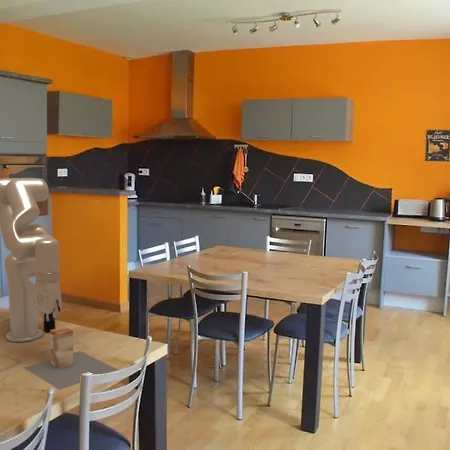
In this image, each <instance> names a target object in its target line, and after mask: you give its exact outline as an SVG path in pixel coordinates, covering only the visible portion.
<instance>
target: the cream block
mask: <svg viewBox="0 0 450 450" xmlns="http://www.w3.org/2000/svg"><path fill="white" fill-rule="evenodd" d="M49 334H50V337H49V338H50V360H51V364H52V365H54V366H56V367H57V368H59V369H60V368H63V367H66V366H69V365H72V364H74V358H73V353H74V331H73V330H72V329H71V328H69V327H66V326H62V327H58V328H57V327H56V328H55V329H53V330H50V333H49Z"/></svg>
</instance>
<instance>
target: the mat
mask: <svg viewBox="0 0 450 450" xmlns="http://www.w3.org/2000/svg"><path fill="white" fill-rule="evenodd" d="M73 358H74V364H72V365H69V366H66V367H63V368H60V369H59V368H57V367H56V366H54V365H52V364H51V359H48V360H45V361H42V362H41V361H40V362H38V363H35V364H31V365H28V366H24V367H23V368H24V370H27V371H29V372H30V373H32V374H33V375H35V376H36V377H38V378H39V379H41V380H43V381H45V382H46V383H48V384H50V385H51V386H53V387H54V388H56V389H58V390H60V391H61V390H63V389H65V388H69V387H72V386H74V385H78V384H81V383H80V376H81V374H83V373H87V372H90V373H93V374H103V373H107V374H110V373H112V372H116V371H118V370H119V369H118V368H116V367H114V366H112V365H110V364H107V362H104V361H102V360H99V359H97V358H95V357H93V356H91V355H89V354H87V353H85V352H83V351H81V350H80V351H75V352H73ZM109 372H110V373H109Z"/></svg>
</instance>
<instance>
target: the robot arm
mask: <svg viewBox="0 0 450 450" xmlns="http://www.w3.org/2000/svg"><path fill="white" fill-rule="evenodd" d="M49 189H50V188H49V186H48V184H47V182H46V181H45V180H44V179H42V178H38V177H37V178H35V177H9V178H8V177H5V178H4V177H3V178H0V232H1V237H2V240H3V244H4V246H5V248H6V249H7V250H8V251H10V252H11V253H10V254H8V255H7V256H5V259H4V270H5V274H6V279H7V289H8V305H9V306H8V310H9V311H8V312H9V328H10V329H9V331H8V332H7V333H6V334H5V338H6V340H8V341H9V342H13V343H23V342H30V341H35V340H37V339H39V338H41V337H42V336H43V333H46V334H50V330H53V329H56V318H58V317H60V315H59V314H60V312H61V311H62V307H63V306H62V305H63V303H62V302H63V301H62V291H61V285H60V281H61V270H60V269H61V268H60V244H59V241H58V239H57V238H56V239H55V238H54V236H53V235H50V234H49V231H48V229H47V227H46V226H45V225H43V224H42V223H33V222H35V221H36V220H37V219H38V218H39V216H40V208H39V206H38V203H39V202H46V201H47V200H48V199H49V195H50V190H49ZM37 202H38V203H37ZM33 277H35V280H34V281H35V282H34V283H33V282H32V281H31V280H30V278H33ZM38 312H40V313H41V317H42V321H43V330H42V329H39V325H38V324H39V323H38V322H39V320H38Z"/></svg>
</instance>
